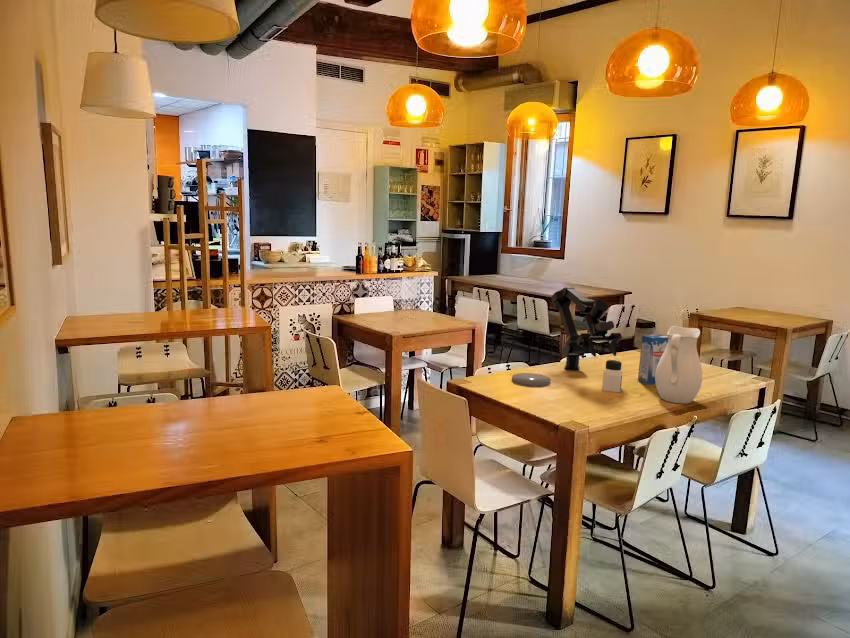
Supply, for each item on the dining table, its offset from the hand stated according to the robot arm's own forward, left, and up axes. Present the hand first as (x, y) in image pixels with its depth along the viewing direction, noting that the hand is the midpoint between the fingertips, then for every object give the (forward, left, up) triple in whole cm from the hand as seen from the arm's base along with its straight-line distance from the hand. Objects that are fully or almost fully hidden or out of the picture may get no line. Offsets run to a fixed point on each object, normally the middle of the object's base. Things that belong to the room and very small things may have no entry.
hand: (605, 355), depth 260 cm
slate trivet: (+6, -29, -12) cm, 32 cm away
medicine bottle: (+6, +3, -13) cm, 14 cm away
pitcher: (+14, +26, -13) cm, 33 cm away
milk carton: (-14, +20, -13) cm, 28 cm away
